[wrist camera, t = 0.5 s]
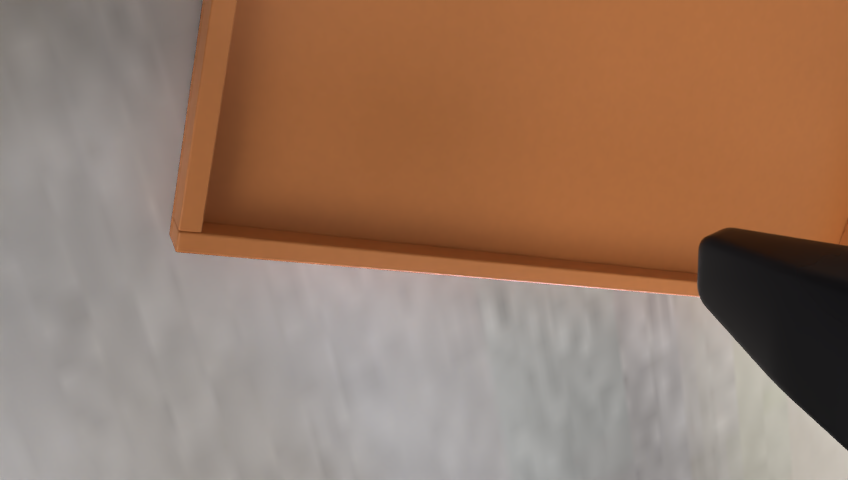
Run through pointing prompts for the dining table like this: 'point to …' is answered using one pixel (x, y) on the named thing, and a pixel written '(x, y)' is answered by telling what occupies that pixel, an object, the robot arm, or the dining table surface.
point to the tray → (513, 134)
